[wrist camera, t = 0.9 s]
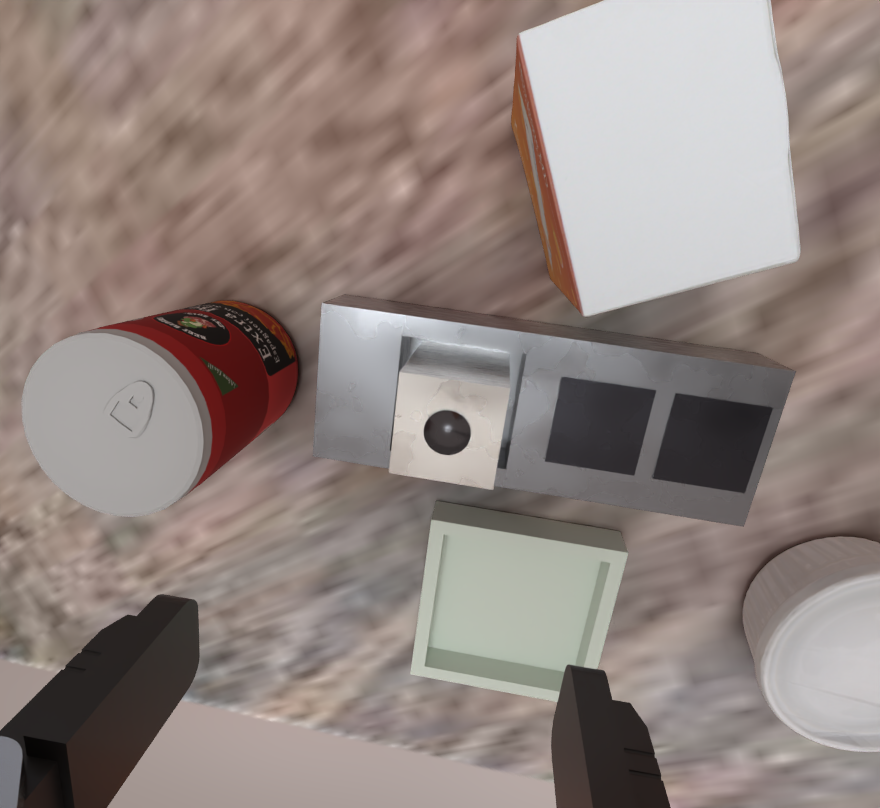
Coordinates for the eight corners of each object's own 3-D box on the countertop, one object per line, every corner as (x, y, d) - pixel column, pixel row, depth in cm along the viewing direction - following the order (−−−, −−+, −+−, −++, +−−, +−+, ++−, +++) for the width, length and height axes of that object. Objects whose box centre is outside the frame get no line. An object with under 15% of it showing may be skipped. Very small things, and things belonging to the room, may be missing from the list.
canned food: (322, 333, 31) (229, 384, 20) (276, 450, 33) (172, 549, 23) (197, 274, 31) (38, 294, 20) (160, 396, 33) (3, 471, 23)
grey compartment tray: (757, 352, 29) (797, 371, 25) (714, 490, 31) (744, 527, 27) (344, 294, 30) (320, 303, 26) (335, 430, 32) (312, 456, 29)
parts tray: (620, 531, 32) (628, 552, 30) (582, 678, 36) (586, 707, 34) (436, 500, 33) (431, 519, 31) (415, 647, 36) (410, 674, 34)
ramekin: (743, 693, 35) (783, 771, 30) (705, 545, 32) (742, 602, 27) (939, 659, 33) (1018, 736, 28) (916, 495, 30) (999, 548, 25)
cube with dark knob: (508, 353, 29) (510, 389, 22) (495, 433, 30) (492, 491, 24) (423, 340, 29) (398, 372, 23) (413, 421, 31) (388, 473, 24)
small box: (508, 121, 27) (511, 24, 14) (641, 74, 26) (770, -76, 13) (548, 284, 29) (582, 323, 16) (673, 248, 28) (811, 259, 15)
